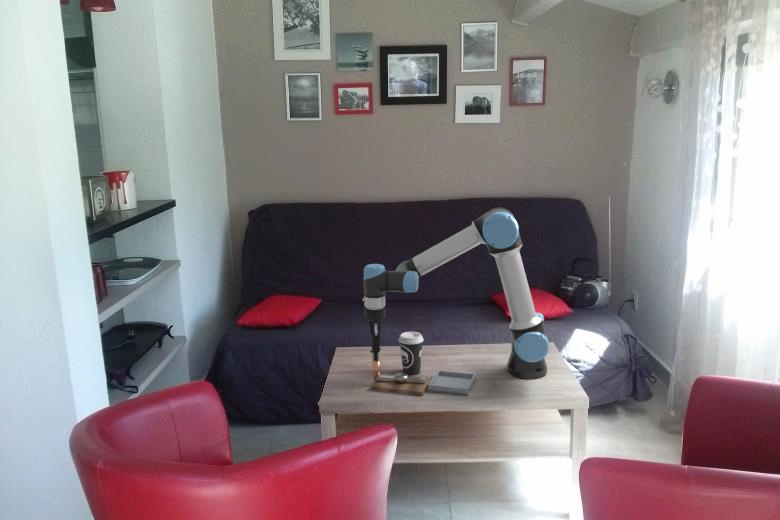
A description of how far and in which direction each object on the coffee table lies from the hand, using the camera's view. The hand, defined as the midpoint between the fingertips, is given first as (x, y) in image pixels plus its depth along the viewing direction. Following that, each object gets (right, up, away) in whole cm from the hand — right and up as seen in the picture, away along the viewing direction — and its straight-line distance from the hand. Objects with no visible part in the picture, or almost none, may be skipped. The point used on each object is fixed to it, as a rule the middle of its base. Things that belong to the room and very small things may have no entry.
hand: (375, 367), depth 234 cm
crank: (+9, -4, -4) cm, 11 cm away
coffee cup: (+14, -3, +9) cm, 16 cm away
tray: (+28, -6, -5) cm, 29 cm away
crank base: (+10, -6, -4) cm, 12 cm away
